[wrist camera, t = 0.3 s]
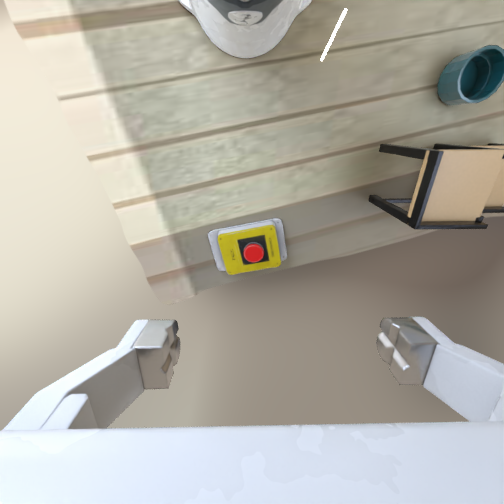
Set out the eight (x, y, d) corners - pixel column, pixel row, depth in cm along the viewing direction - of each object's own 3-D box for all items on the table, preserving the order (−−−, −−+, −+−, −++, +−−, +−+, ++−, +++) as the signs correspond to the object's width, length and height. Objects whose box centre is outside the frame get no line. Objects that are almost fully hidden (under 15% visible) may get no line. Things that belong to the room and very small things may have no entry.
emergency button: (290, 268, 48) (216, 281, 49) (287, 258, 52) (218, 270, 53) (284, 225, 44) (203, 240, 45) (281, 217, 48) (207, 231, 49)
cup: (443, 54, 37) (468, 45, 33) (487, 54, 37) (517, 45, 33) (429, 105, 40) (450, 102, 36) (469, 105, 40) (495, 102, 36)
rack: (380, 144, 42) (439, 151, 29) (495, 143, 43) (604, 150, 29) (368, 201, 47) (414, 229, 34) (472, 200, 47) (558, 228, 34)
